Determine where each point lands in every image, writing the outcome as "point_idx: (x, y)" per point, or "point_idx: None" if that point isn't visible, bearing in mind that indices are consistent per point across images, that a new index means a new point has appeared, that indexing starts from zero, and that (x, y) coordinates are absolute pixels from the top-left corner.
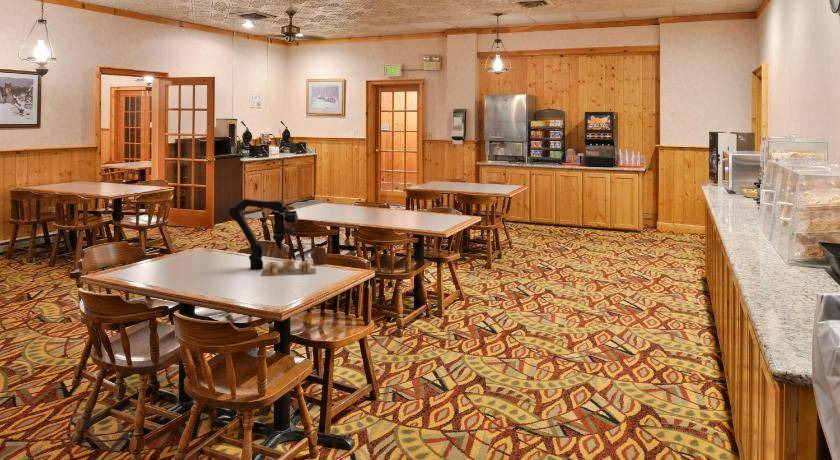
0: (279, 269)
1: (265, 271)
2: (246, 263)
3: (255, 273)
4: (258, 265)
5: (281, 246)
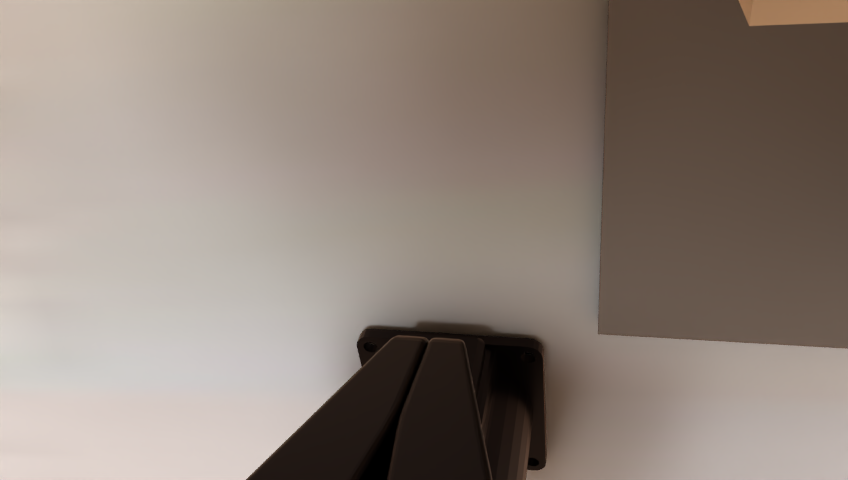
0: (621, 47)
1: (754, 295)
2: (107, 471)
3: (769, 408)
4: (512, 433)
5: (405, 428)
